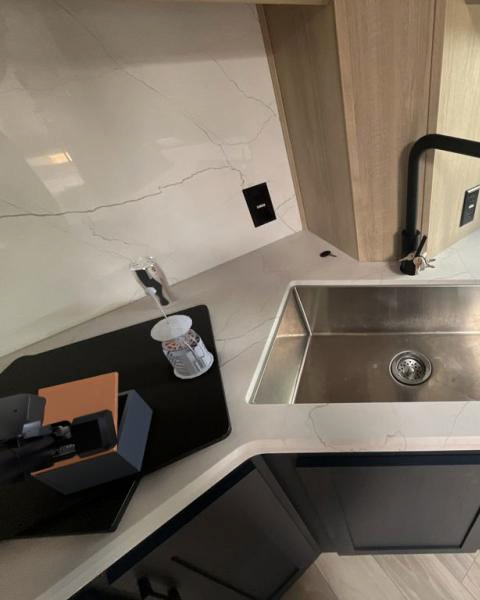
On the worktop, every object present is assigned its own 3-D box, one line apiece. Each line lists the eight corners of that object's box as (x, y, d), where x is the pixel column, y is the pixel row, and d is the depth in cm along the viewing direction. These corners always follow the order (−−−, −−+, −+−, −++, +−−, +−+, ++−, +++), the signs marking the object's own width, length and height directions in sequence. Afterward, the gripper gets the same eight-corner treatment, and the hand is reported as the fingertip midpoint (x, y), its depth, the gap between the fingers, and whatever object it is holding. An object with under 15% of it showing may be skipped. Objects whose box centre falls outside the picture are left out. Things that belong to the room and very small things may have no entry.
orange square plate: (42, 390, 58) (38, 389, 58) (118, 372, 62) (115, 371, 61) (33, 475, 53) (29, 475, 52) (116, 451, 56) (114, 450, 56)
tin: (90, 429, 68) (63, 406, 62) (153, 412, 72) (133, 389, 66) (67, 495, 59) (32, 476, 53) (141, 472, 62) (117, 452, 56)
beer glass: (176, 293, 102) (154, 253, 92) (181, 305, 98) (159, 264, 88) (150, 302, 98) (125, 261, 89) (155, 314, 95) (129, 273, 85)
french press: (199, 345, 86) (157, 268, 70) (229, 362, 83) (192, 286, 66) (163, 370, 80) (108, 293, 64) (194, 391, 76) (143, 314, 60)
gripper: (68, 385, 44) (128, 372, 59) (-125, 430, 38) (-5, 403, 53) (84, 466, 43) (141, 432, 58) (-108, 523, 38) (8, 469, 53)
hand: (74, 432), depth 56 cm, fingers closed, pressing on orange square plate
